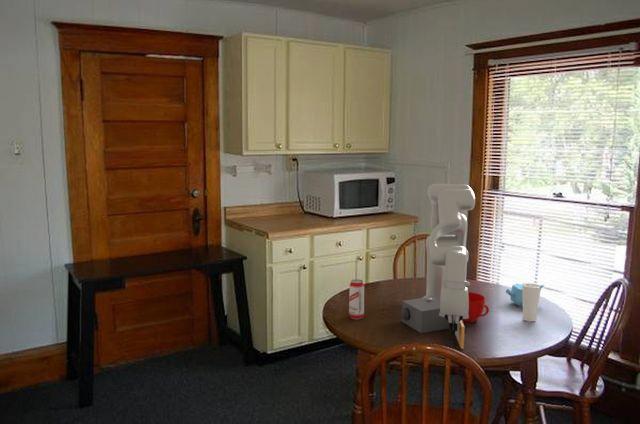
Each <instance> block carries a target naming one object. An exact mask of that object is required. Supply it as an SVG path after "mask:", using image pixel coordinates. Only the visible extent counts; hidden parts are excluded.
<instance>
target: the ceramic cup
mask: <svg viewBox="0 0 640 424" xmlns="http://www.w3.org/2000/svg"><path fill="white" fill-rule="evenodd" d="M468 295H469V309H468V314H469V318H468V319H462V322H463V323H474V322H476V321H477V320H478V319H479V318H480V317H485V316H487V315H488V314H489V312H490V308H489V306H488V305H487V304H485V302H486V297H485V296H484V295H483V294H479V293H476V292H469V291H468ZM484 308H485V313H484V314H483V311H484Z"/></svg>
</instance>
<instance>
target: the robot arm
mask: <svg viewBox="0 0 640 424" xmlns="http://www.w3.org/2000/svg"><path fill="white" fill-rule="evenodd" d="M427 195H428V198H429V201H430V203H431V213H430V215H431V216H430V230H431V233H430V235H428V236H427V238H426V240H425V248H426V260H427V261H426V262H427V263H426V291H425V292H426V294H425V295H424V296H423V297H422V298H424V297H431V296H433V297H435V298H437V299H439V300H440V312H439V316H441V317H445V318H446V319H447V320H448V321H449V328H448V330H449V331H450V334H453V335H455V331H457V327H458V322H460V321H461V320H462V319H468V318H469V314H468V309H469V295H468V292H469V290H468V289H469V288H468V287H470V286H471V282H469V281H467V269H468V268H467V267H468V266H467V265H468V262H469V257H470V255H469V254H470V253H469V251H468V249H467V248H466V244H467V234H468V219H467V216H466V215H465V214H463V213H461V211H472V210H473V209H474V208H475V205H476V196H475V192H474V191H473V189H472V188H471V186H469V185H468V184H464V183H463V184H459V183H457V184H455V183H454V184H453V183H452V184H450V183H433V184H430V185H429V186H428V189H427ZM452 315H456V319H455V320H454V327H453V319H452Z"/></svg>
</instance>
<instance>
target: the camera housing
mask: <svg viewBox="0 0 640 424" xmlns="http://www.w3.org/2000/svg"><path fill="white" fill-rule="evenodd" d="M423 297H424V296H423ZM423 297H420V298H412V299H407V300H406V299H405V300H402V301H401V302H402V304H401V305H402V307H401V309H400V318H401V322H402V323H403V324H405V325H407V326H408V327H410V328H411V329H413V330H414V331H417V332H418V333H419V334H425V333H430V332H436V331H442V330H447V329H448V330H449V321H448V320H447V319H446V318H445V317H441V316H439V312H440V300H439V299H437V298H435V297H433V296H431V297H424V298H423ZM452 319H453V315H452Z"/></svg>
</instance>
